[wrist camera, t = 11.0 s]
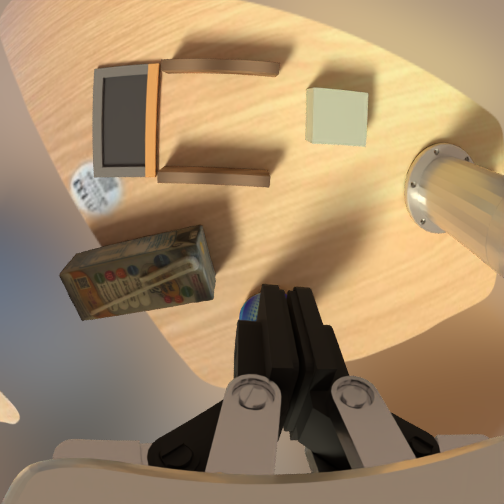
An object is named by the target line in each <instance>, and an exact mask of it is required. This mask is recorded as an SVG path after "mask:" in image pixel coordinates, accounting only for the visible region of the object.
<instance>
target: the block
mask: <svg viewBox="0 0 504 504" xmlns="http://www.w3.org/2000/svg"><path fill="white" fill-rule="evenodd" d="M367 115H368V93H364V92H356V91H347V90H338V89H327V88H309V89H306V132H305V140H307V141H309V142H310V143H312V144H332V145H348V146H362V147H366V135H367Z"/></svg>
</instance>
